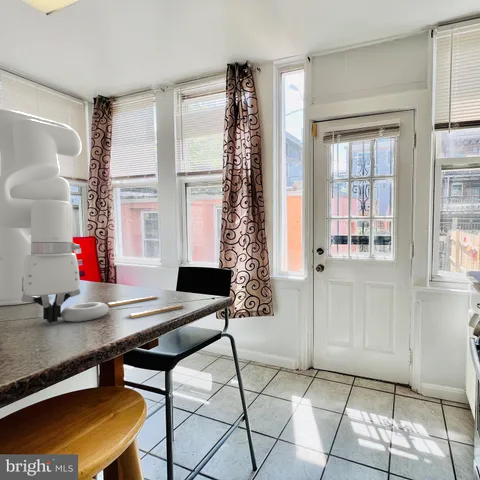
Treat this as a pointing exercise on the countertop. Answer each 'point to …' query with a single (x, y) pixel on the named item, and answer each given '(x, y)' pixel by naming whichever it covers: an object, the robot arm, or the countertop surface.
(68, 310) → the donut
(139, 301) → the strips
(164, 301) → the countertop surface
